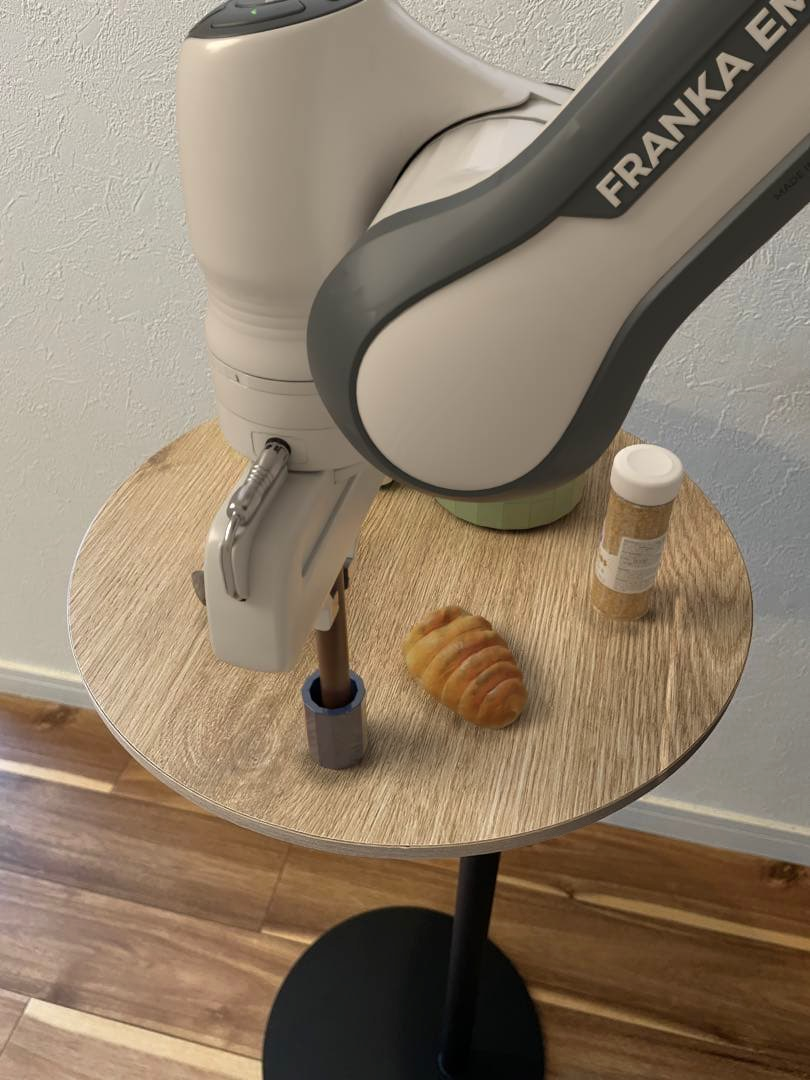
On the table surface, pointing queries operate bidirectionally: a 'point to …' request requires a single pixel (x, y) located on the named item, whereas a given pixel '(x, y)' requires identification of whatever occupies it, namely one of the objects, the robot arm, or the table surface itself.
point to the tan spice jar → (634, 530)
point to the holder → (335, 725)
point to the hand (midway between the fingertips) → (329, 599)
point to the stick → (335, 656)
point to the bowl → (520, 508)
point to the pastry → (466, 667)
